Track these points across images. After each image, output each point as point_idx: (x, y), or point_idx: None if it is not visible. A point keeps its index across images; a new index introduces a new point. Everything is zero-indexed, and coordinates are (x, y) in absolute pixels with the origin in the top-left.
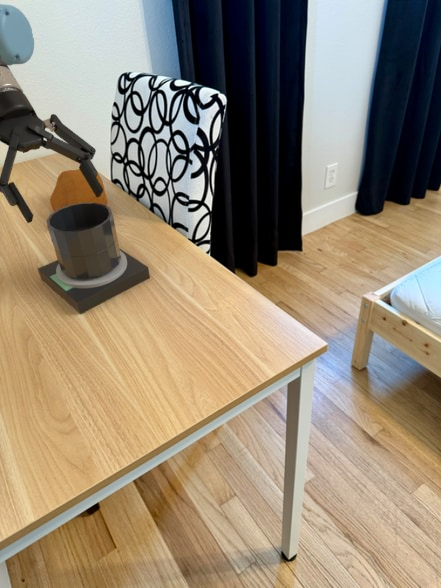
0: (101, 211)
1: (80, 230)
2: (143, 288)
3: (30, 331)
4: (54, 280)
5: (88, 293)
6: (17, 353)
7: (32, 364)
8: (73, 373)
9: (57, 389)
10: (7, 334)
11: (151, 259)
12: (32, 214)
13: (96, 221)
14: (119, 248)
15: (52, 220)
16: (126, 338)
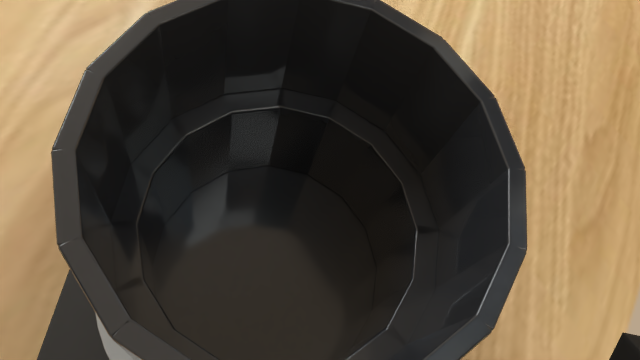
0: (88, 186)
1: (418, 36)
2: None
3: (573, 248)
4: None
5: None
6: (631, 204)
7: (615, 141)
8: (555, 45)
9: (599, 43)
10: (630, 298)
11: (18, 186)
12: (630, 341)
13: (112, 280)
14: (63, 291)
15: (428, 348)
16: (404, 14)
